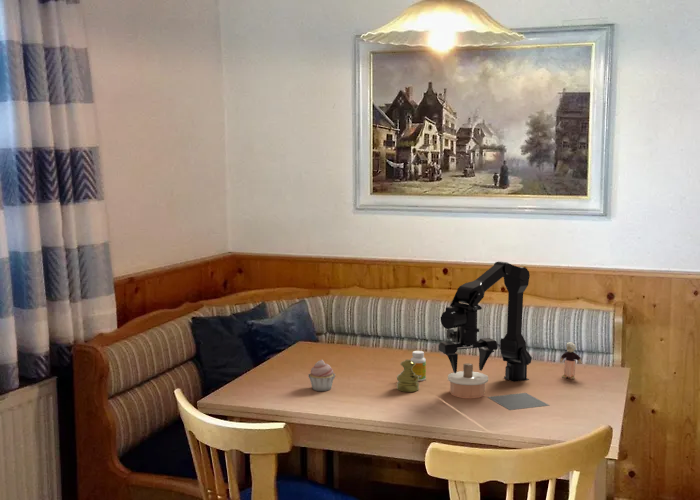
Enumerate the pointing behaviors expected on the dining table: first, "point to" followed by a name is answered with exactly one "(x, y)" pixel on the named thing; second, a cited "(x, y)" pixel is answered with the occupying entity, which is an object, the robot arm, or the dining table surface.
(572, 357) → the grandmother figurine
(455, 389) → the bowl
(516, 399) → the mat
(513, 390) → the dining table surface
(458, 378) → the lid
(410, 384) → the olive green figurine
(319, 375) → the cupcake
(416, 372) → the supplement bottle
